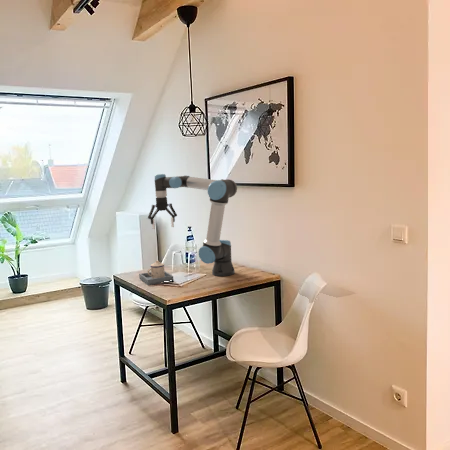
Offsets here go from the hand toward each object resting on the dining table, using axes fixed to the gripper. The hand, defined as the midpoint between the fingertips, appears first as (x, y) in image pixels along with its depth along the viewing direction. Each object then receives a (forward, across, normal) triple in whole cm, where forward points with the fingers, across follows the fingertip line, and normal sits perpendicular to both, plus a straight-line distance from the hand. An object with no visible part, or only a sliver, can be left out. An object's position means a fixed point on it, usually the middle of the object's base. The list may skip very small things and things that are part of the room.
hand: (163, 227), depth 326 cm
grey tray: (+32, +12, +16) cm, 37 cm away
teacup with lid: (+31, +12, +16) cm, 37 cm away
